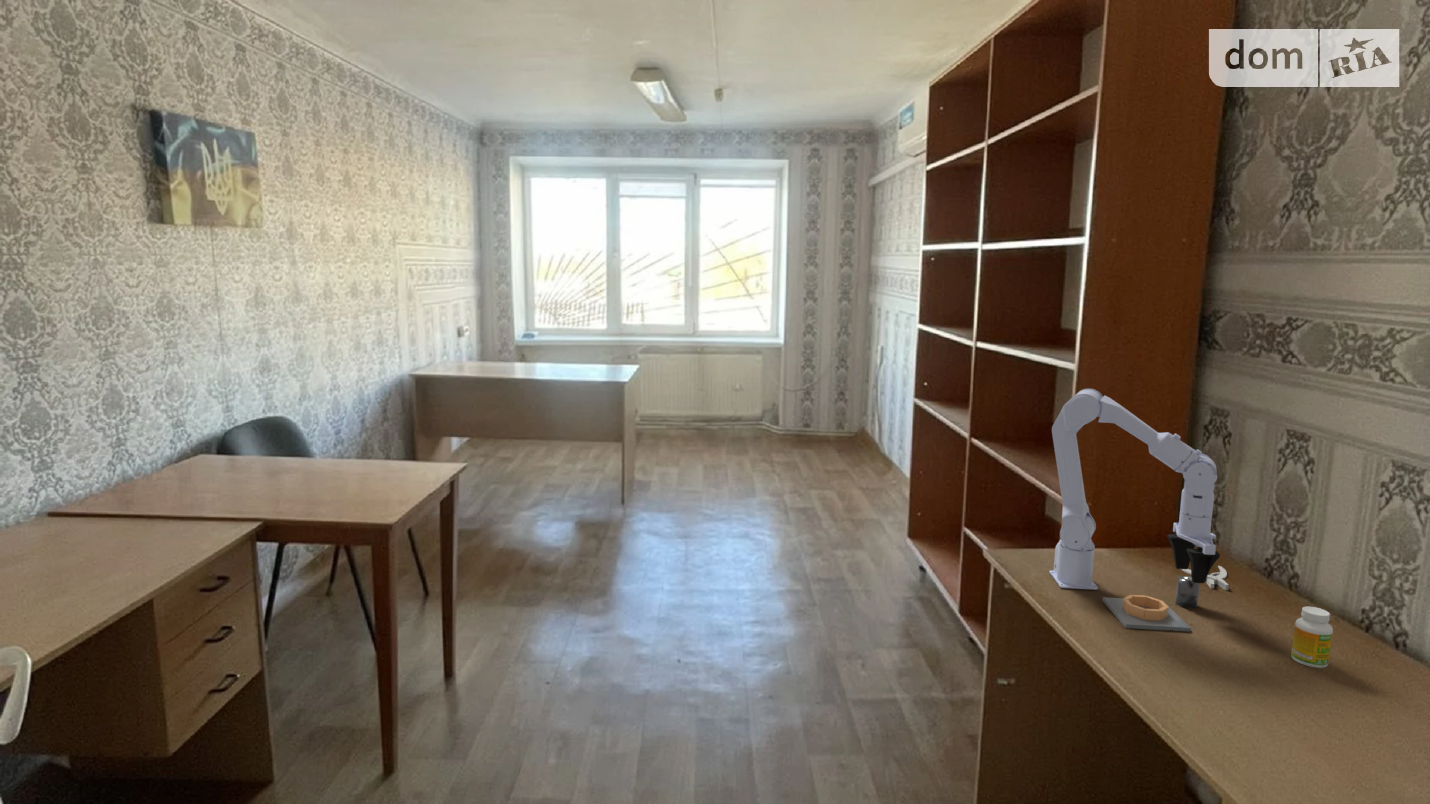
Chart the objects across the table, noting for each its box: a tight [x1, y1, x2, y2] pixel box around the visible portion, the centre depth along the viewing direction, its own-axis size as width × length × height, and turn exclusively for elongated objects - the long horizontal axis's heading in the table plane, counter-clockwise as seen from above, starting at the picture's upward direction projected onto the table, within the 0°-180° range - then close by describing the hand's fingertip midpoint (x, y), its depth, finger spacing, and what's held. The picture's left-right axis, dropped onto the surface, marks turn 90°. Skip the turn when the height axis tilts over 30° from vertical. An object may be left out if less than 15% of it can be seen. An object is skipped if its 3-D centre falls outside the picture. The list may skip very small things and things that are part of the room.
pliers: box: [1180, 565, 1229, 591], centre depth 178 cm, size 10×2×15 cm
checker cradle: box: [1102, 594, 1192, 633], centre depth 158 cm, size 13×12×3 cm
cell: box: [1174, 575, 1201, 610], centre depth 163 cm, size 4×4×6 cm
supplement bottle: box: [1290, 606, 1334, 669], centre depth 139 cm, size 5×5×10 cm
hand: (1189, 575), depth 163 cm, fingers open, 7 cm apart
